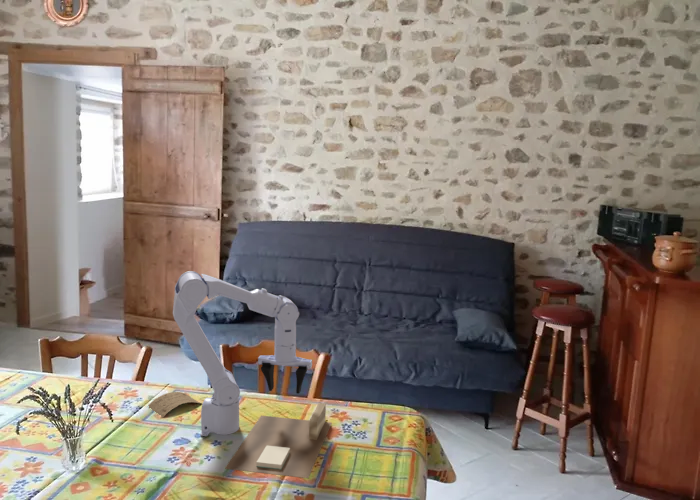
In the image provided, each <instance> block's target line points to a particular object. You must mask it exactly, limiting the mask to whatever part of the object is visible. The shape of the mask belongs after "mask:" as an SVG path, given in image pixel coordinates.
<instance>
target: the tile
mask: <svg viewBox="0 0 700 500" xmlns="http://www.w3.org/2000/svg"><path fill="white" fill-rule="evenodd" d="M289 454H290V448H286V447H277V446H268V445H267V446H266V447H265V449H264V450H263V452H262V454H261V455H260V457H259V459H258V460H257V462H256V467H263V468H272V469H282V467H283V465H284V463H285V461H286V459H287V457H288V456H289Z"/></svg>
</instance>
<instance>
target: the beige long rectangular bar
mask: <svg viewBox="0 0 700 500" xmlns="http://www.w3.org/2000/svg"><path fill="white" fill-rule="evenodd" d="M326 409H327V407H326V403H323V402H318V403H317V406H316V407H315V409H314V412H313V413H312V415H311V417H310V419H309V420H310V421H309V439H313V440H317V438H318V436H319V434H320V432H321V429H322V427H323V425H324V423H325V422H326V415H327V414H326V413H327V412H326V411H327V410H326Z"/></svg>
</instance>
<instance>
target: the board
mask: <svg viewBox="0 0 700 500" xmlns="http://www.w3.org/2000/svg"><path fill="white" fill-rule="evenodd" d="M309 421H310V419H298V418H289V417H278V416H268V415H260V416H259V418H258V420H257V421H256V423H255V424H254V425H253V426H252V428H251V430H250V431H249V433H248V434H247V435H246V437H245V438H244V440H243V441H242V443H241V444H240V446H239V447H238V448H237V450H235V451H236V452H235V453H234V454H233V456H231V459H230V460H229V461H228V463H227V465H225V467H224V469H226V470H234V471H242V472H243V471H244V472H251V473H260V474H268V475H278V476H284V477H285V476H286V477H295V478H302V479H303V478H304V479H309V477H310V475H311V473H312V470H313V468H314V467H315V464H316V461H317V459H318V457H319V453H320V452H321V449H322V447H323V445H324V442H325V440H326V438H327V435H328V433H329V431H330V428H331V425H332V422H327V421H325V423H324V425H323V427H322V429H321V432H320V434H319V436H318V438H317V440H313V439H309ZM267 445H268V446H277V447H286V448H290V454H289V456H288V457H287V459H286V461H285V463H284V465H283V467H282V469H272V468H263V467H256V462H257V460H258V459H259V457H260V455H261V454H262V452H263V450H264V449H265V447H266V446H267Z"/></svg>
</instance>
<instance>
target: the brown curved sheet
mask: <svg viewBox="0 0 700 500" xmlns="http://www.w3.org/2000/svg"><path fill="white" fill-rule="evenodd" d="M187 403H195V404H196V403H197V404H203V402H202V403H201V402H199V401H197V400H196V399H194V398H193V397H191V396H190V395H189V394H187V393H186V392H185V393H184V392H180V391H173V392H168V393H164V394H162V395H160V396H158V397H156V398H155V399H154V400H152V401H151V402H150V403H149V404H148V406H149V408H148V409H150V408H151V409H152V410H151V409H150V410H151V411H152V412H154V411H155V412H156V414H157V413H158V414H159V415H158V414H157V415H158V416H160V415H161V416H160V417H161V418H164V417H165V416H166V415H167V414H168V413H169V412H171V411H172V410H173V409H175V408H177V407H178V406H180V405H182V404H187ZM148 406H147V407H148ZM155 412H154V413H155Z"/></svg>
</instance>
